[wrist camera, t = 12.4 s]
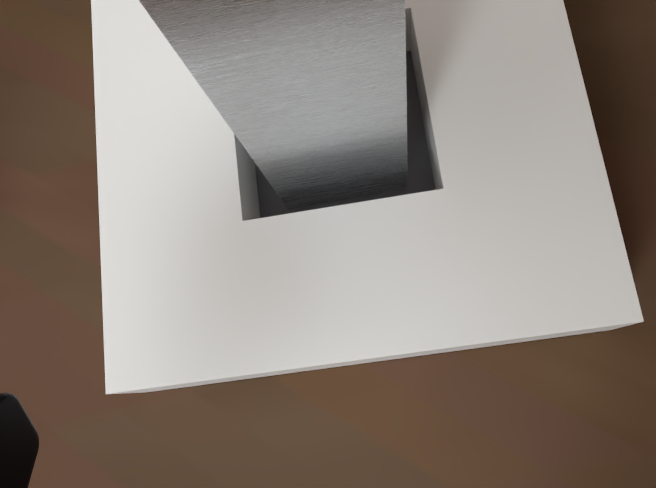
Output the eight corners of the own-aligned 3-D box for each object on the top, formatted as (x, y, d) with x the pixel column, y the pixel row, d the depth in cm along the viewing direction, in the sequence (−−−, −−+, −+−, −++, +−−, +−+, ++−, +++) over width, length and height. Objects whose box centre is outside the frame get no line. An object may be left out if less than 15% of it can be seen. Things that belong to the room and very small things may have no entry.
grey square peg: (408, 187, 21) (403, -85, 9) (287, 208, 22) (122, -23, 9) (388, 77, 23) (359, -306, 10) (273, 99, 23) (108, -241, 10)
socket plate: (609, 330, 20) (643, 321, 17) (147, 392, 21) (105, 393, 18) (513, -77, 24) (527, -141, 21) (126, 2, 25) (89, -47, 22)
